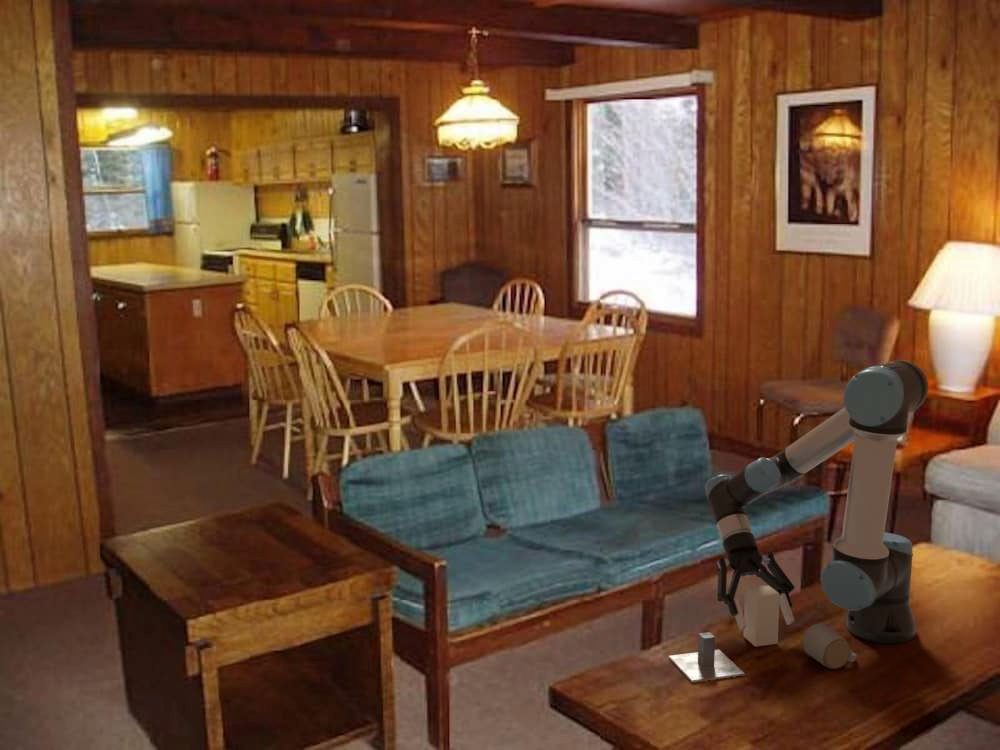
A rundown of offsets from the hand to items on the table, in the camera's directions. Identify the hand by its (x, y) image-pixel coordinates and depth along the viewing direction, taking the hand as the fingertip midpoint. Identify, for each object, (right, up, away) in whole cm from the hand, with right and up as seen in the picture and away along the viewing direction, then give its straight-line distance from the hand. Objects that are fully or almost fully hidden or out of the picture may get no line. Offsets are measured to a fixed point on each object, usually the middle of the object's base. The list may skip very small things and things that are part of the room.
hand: (767, 625), depth 238 cm
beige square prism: (-1, -4, +4) cm, 5 cm away
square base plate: (-16, -7, -10) cm, 19 cm away
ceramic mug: (+12, -6, -7) cm, 15 cm away
